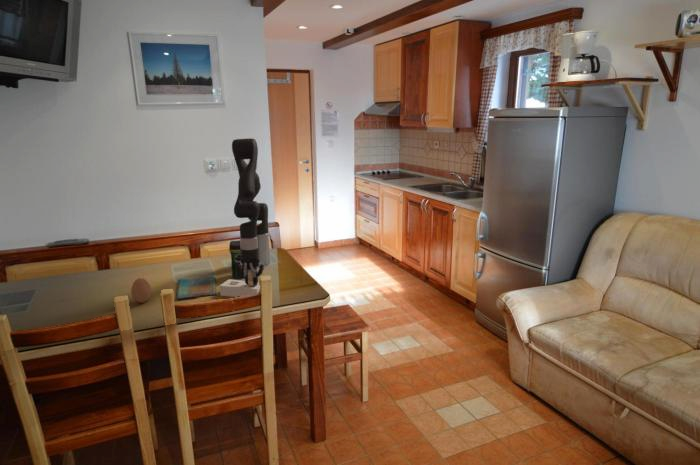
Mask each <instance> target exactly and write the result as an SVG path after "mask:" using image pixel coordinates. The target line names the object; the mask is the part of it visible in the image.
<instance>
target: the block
mask: <svg viewBox="0 0 700 465" xmlns="http://www.w3.org/2000/svg"><path fill="white" fill-rule="evenodd" d="M241 280H242V279H241ZM241 280H234V279H231V278H230V279H227V280H226V281H224V282H223V283H221V284H220V285H219V293H220V294H219V295H220V296H224V297H232V298H238V297H237V296H242V295H249V294H255V293H258V292H259V290H260V285H259V281H258V283H257V284H256V285H255V287H248V284H246V283H245V281H241Z"/></svg>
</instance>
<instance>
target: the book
mask: <svg viewBox="0 0 700 465" xmlns="http://www.w3.org/2000/svg"><path fill="white" fill-rule="evenodd" d="M176 289H177V290H176V292H177V294H176V297H177V298H176V300H177V301H179V302H181V301H188V300H195V299H196V298H197V299H198V298H203V297H211V296H217V294H218V293H217V291H218V290H217V282H216V277H215V276H214V275H207V276H201V277H195V278H180V279H178V280H177V288H176Z"/></svg>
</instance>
